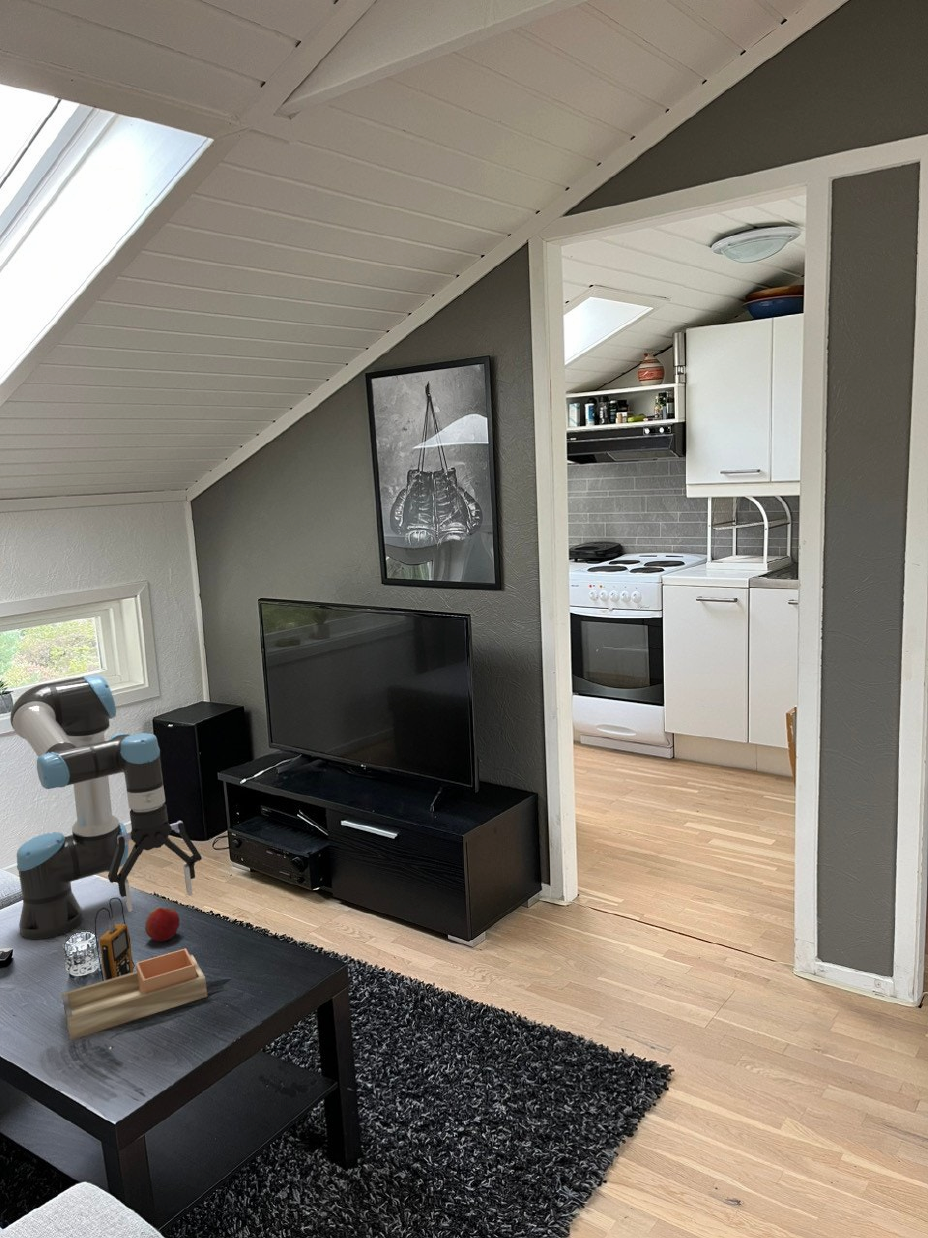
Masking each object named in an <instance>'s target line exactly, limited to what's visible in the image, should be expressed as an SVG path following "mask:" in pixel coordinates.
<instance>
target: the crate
mask: <svg viewBox="0 0 928 1238" xmlns="http://www.w3.org/2000/svg"><path fill="white" fill-rule="evenodd" d="M190 955H191V954H190V953H189V951H188V949H187V948H186V947H185V948H182V949H179V950H176V951H172V952H169V953H165V954H161V955H159V956H155V957H152V958H148V959H144V960H141V961H139V962H135V967H136V968H135V969H136V971H137V977H138V984H139V989H140V992H141V994H146V993H149V992H152V991H155V990H159V989H162V988H165V987H168V986H171V985H175V984H178V983H181V982H184V981H188V980H191V979H194V978H197V976H196V968H195V964H194V962H193V960H192V958H191V957H190Z"/></svg>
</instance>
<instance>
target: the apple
mask: <svg viewBox="0 0 928 1238" xmlns="http://www.w3.org/2000/svg"><path fill="white" fill-rule="evenodd" d="M179 926H180V916H179V914H178V912H177V911H176V910H174V909H170V908H166V907H165V908H164V907H157V908H156V909H154V910H152V912H150V914H149V915H148V917H147V918H146V921H145V926H144V928H145V929H144V930H145V933H146V935H147V936H148V937H149V938H150V939H151V940H153V941H157V942H165V941H168V940H170V939H172V938H173V937H174V936H175V934H176V932H177V931H178V929H179Z"/></svg>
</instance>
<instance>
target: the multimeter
mask: <svg viewBox="0 0 928 1238" xmlns="http://www.w3.org/2000/svg"><path fill="white" fill-rule="evenodd" d="M112 900H118V901H119V902H120V905H121V913H122V920H123V923H122V924H120V923H116V922H115V917H114V914H113V908H112V904H111V902H112ZM108 903H109V908H110V911H111V913H110V911H109V909H108V908H107V907H101V908H100V909H98V911H97V912H96V914H95V918H94V935H95V945H96V951H97V952H96V953H97V958H98V962H99V963H98V964H99V968H100V975H101V980H102V981H105V980H109V979H112V978H115V977H119V976H122V975H126V974H129V973H132V972H134V967H136V964H135V963H134V960H133V955H132V949H131V948H132V947H131V937H130V934H129V927H128V925H127V924H126V921H125V913H124V906H123V902H122V901H121V899H120V898H119V897H113V898H110V899H109V902H108ZM101 910H106V911H107V912H108V918H109V922H108V923H109V930H107V931H106V932H105V933H104V934H103V935H102V936H100V937H99V939H98V937H97V918H98V915H99V912H100V911H101ZM98 940H99V943H98ZM98 944H99V945H98ZM99 948H100V952H99ZM100 955H101V957H100ZM101 962H102V964H101ZM102 981H101V982H102Z"/></svg>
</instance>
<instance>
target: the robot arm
mask: <svg viewBox="0 0 928 1238" xmlns="http://www.w3.org/2000/svg"><path fill="white" fill-rule="evenodd" d="M116 716H117V706H116V702H115V700H114V695H113V693H112V689H111V687H110V686H109V684H108V682H107V680H106V679H105V678H104V677H103V676H101V675H98V674H97V675H96V674H95V675H88V676H85V675H83V676H80V677H74V678H70V679H65V680H60V681H54V682H49V683H42V684H38V685H35V686H33V687H32V688H29V689H27V690H26V691H25V692H24V693H22V694H21V695H20V696H19V697H18V698H17V700H16V701H15V702H14V704H13V706H12V708H11V710H10V717H9V718H10V725H11V726H12V730H14V732H15V733H16V735H18V736H19V737H20V738H21V739H24V740H26V742H27V743H28V744H29V745H30V747H31V748H32V749H33V751H34V753H35V755H36V756H37V759H36V771H37V775H38V780H39V782H40V784H41V786H42V788H44V789H46V790H52V789H55V788H56V789H57V788H65V787H66V786H72V785H73V793H74V794H73V795H74V800H75V810H76V811H75V812H76V820H77V821H76V822H74V823H73V825H72V827H71V830H72V831H71V833H72V834H70V835H68V836H67V835H66V836H65V835H64V834H63V833H62V832H59V831H58V832H57V831H55V832H47V833H44V834H40V835H38V836H35V837H32V838H31V839H29V840H27V841H25V842H24V843H22V845H20V846H19V848H18V849H17V852H16V864H17V865H16V868H17V870H18V874H19V883H20V889H21V896H22V897H21V898H22V909H21V913H20V920H19V923H18V926H19V927H18V929H19V933H20V936H21V937H22V938H25V939H27V940H28V939H29V940H46V939H49V938H51V939H52V938H54V937H58V936H60V935H64V934H66V933H69V932H71V931H72V930H74V929H76V928H77V927H78V926H79V925H80V924H81V923H82V922H83V919H84V915H83V910H82V907H81V905H80V904H79V901H78V900H77V899H76V896H75V895H74V893H73V890H72V885H71V884H72V882H75V881H78V880H83V879H86V878H89V877H92V876H95V875H99V874H102V873H106V872H107V873H108V874H107V879H108V881H109V882H110V883H111V884H112V883H118V884H117V886H118V892H119V895H120V897H121V898H124V897H125V903H126V904H125V905H126V909H127V911H128V913H130V912H133V911H134V910H133V905H132V897H131V890H130V889H131V888H130V884H129V880H128V876H129V874H130V873H131V871H132V869H133V867H134V865H135V864H136V862H137V860H138V859H139V857H140V856H141V855H142V853H143V852H144V850H145V851H150V850H153V849H159V848H162V846H163V845H165V846H166V847H167V848H168V849H170V851H172V852H173V853H174V854H175V855H176V856H178V857H179V858H180V859H181V860H182V861H183V862H184V863H183V864H182V867H183V874H184V881H185V882H184V883H185V890H186V891H185V892H186V893H187V895H188V897H190V896H193V888H192V881H191V880H193V879H195V877H196V871H195V865H196V863H197V862H200V861H201V860H202V859H203V857H202V855H201V853H200V852H199V850H198V849H197V848H196V846H195V845H194V842H192V840H191V838H190V837H189V835H188V834H187V832H186V828H185V824H184V823H183V821H182V820H180V819H179V820H177V821H176V822H173V823H171V824H170V823H169V817H168V810H167V804H166V803H165V802H166V795H165V789H164V780H163V771H162V763H161V749H160V746H159V742H158V738H157V736H156V735H155V734H153V733H147V732H142V733H135V734H134V733H133V734H129V733H125V732H124V733H123V732H122V733H117V734H115V735H113V736H111V738H109V739H108V740H105V733H106V731H108V730H109V728H110V727H111V725H110V719H111V720H112V719H114V718H115V717H116ZM121 773H123V774H124V780H125V786H126V796H127V802H128V803H127V804H128V805H127V806H128V808H129V809H130V810H129V819H130V826H131V830H130V833H128V831H127V828H126V826H125V825H124V823H123V822H120V820H119V818H118V817H116V816H115V815H113V810H112V801H111V800H112V799H111V789H110V781H109V776H112V775H116V774H121ZM172 831H174V832H175V833H177V834H179V835H180V837H181V838H182V840H183V842H184V843H185V845H186V846H187V847H188V850H189V851H190V852H191V854H192V855H191V856H190V855H189V854H187V853H186V852H185V851H184V850H183V849H182V848H180V847H179V846H178V845H177V844H176V843H175V842H173V841H172V840H171V839H170V838H169V836H170V834H171V832H172ZM129 841H132V842H134V845H133V847H132V849H131V851H130V850H129V849H130V848H129V847H130V845H129ZM129 851H130V854H129ZM119 870H120V871H119Z"/></svg>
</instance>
